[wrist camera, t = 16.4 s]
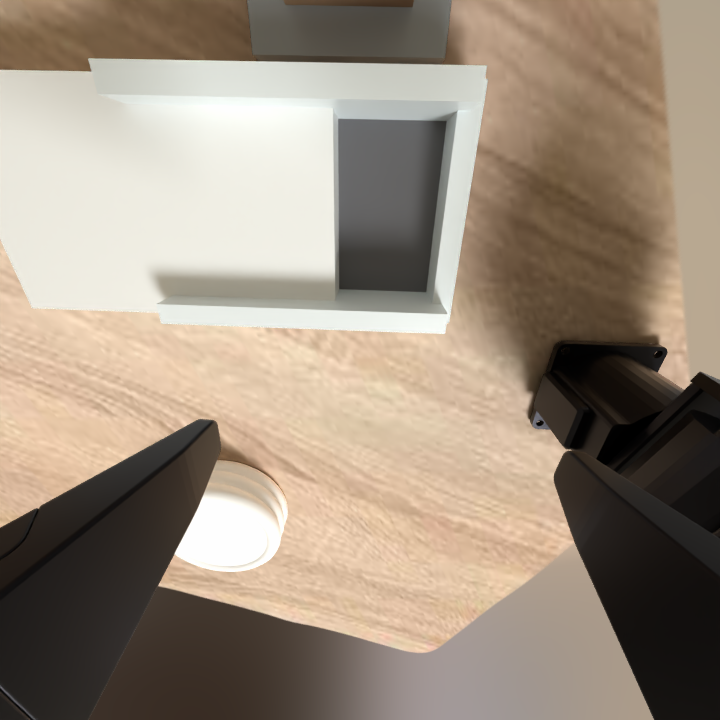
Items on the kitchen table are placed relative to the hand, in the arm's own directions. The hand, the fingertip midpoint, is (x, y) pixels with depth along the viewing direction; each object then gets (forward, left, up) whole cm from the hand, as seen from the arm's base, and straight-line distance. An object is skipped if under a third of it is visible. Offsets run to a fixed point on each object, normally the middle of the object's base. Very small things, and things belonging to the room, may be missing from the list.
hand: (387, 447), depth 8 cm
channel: (+7, -5, -12) cm, 15 cm away
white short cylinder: (+12, +18, -13) cm, 25 cm away
